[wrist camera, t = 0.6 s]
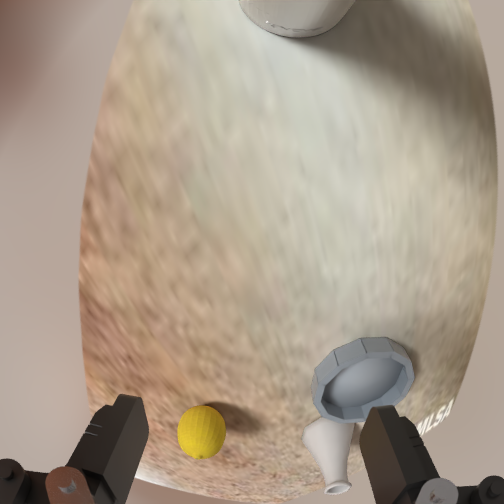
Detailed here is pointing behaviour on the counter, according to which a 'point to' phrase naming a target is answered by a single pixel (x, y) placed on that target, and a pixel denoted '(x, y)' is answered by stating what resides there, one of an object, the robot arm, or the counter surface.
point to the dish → (361, 379)
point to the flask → (330, 451)
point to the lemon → (201, 432)
